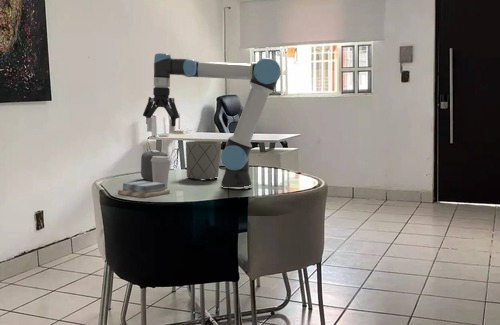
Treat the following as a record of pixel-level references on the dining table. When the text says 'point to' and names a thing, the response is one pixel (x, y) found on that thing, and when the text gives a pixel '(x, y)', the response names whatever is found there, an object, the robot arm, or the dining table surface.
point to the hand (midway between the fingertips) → (160, 132)
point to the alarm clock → (149, 164)
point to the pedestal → (143, 189)
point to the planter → (202, 159)
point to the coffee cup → (160, 169)
